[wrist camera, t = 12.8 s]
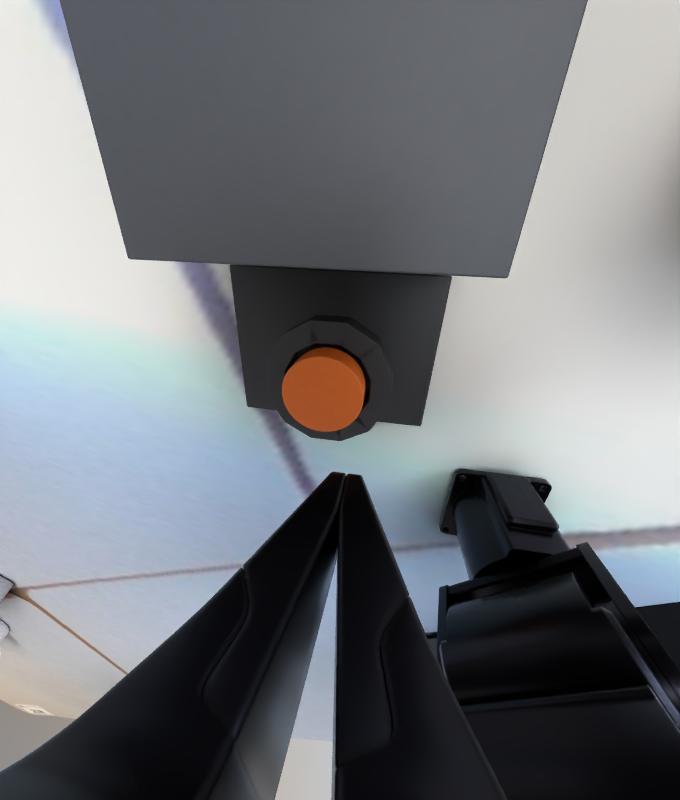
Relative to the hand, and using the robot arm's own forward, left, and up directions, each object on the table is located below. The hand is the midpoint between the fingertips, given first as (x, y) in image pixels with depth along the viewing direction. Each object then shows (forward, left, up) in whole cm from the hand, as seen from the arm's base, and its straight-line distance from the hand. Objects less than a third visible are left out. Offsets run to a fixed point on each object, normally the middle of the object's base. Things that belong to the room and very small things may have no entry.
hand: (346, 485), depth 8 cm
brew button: (-1, +2, -9) cm, 9 cm away
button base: (+1, +2, -11) cm, 12 cm away
